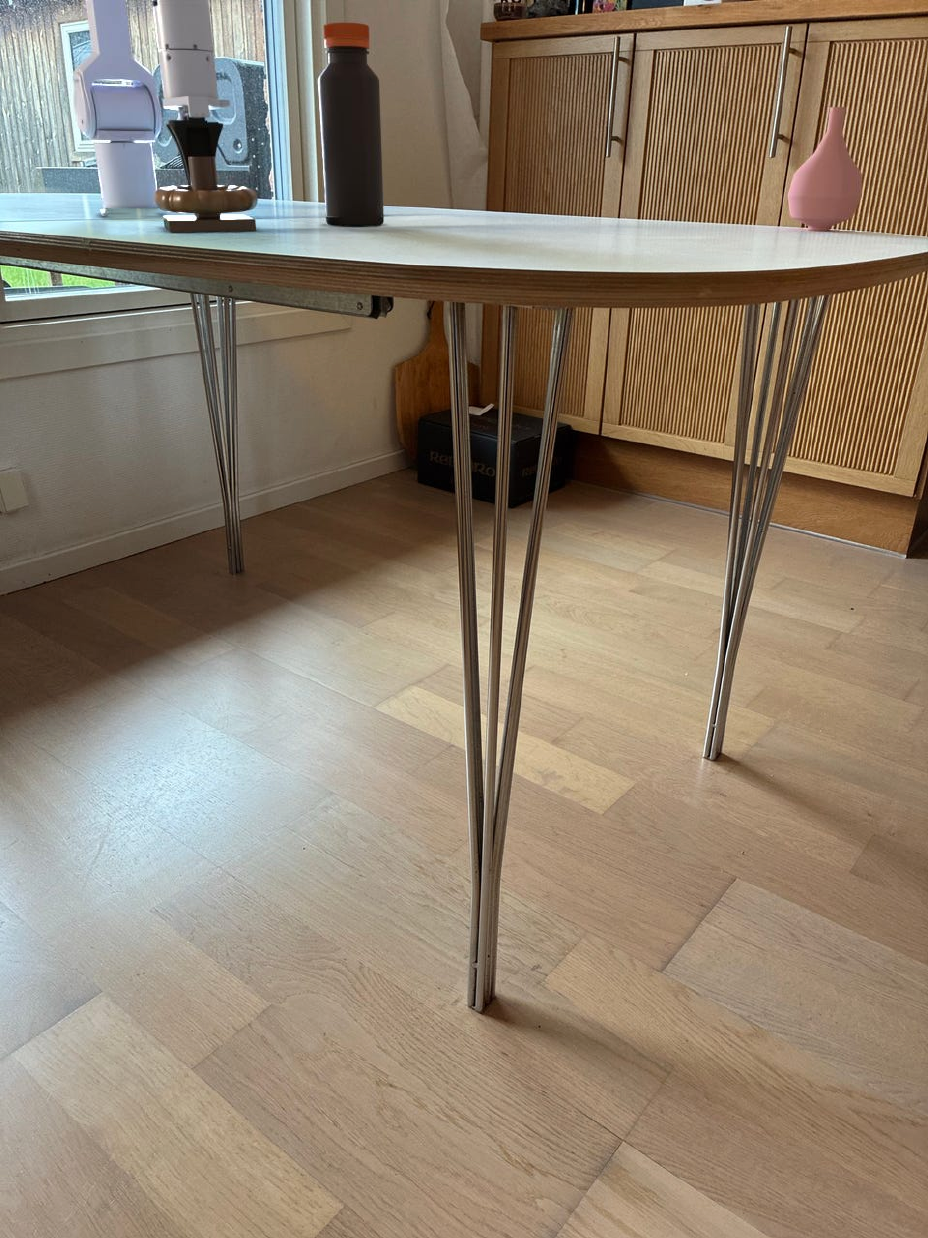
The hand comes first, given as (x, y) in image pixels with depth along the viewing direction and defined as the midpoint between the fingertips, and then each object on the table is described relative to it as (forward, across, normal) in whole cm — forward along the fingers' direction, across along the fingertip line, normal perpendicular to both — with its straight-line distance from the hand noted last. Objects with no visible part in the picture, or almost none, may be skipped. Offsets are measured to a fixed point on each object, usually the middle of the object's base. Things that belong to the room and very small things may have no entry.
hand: (201, 192), depth 106 cm
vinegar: (+4, -2, -17) cm, 18 cm away
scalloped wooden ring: (0, -4, 0) cm, 4 cm away
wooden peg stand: (+3, -4, 0) cm, 6 cm away
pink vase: (+4, -26, -64) cm, 69 cm away
